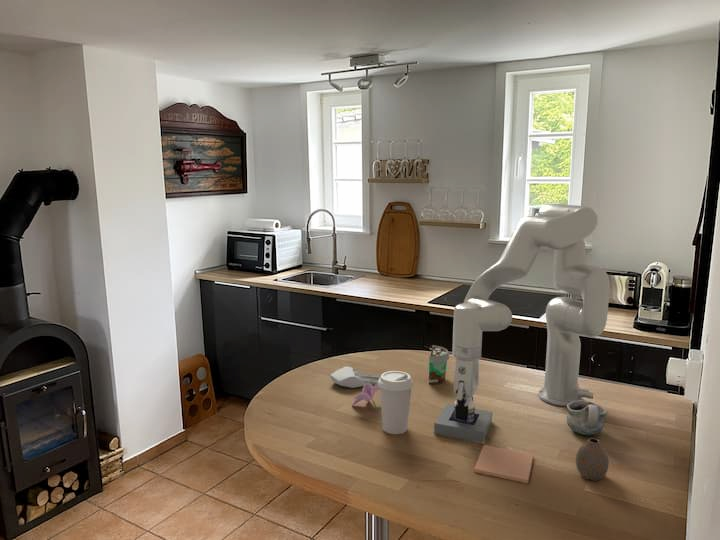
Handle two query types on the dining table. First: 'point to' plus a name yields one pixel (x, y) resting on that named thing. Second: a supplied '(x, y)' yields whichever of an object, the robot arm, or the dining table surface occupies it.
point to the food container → (437, 364)
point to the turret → (353, 377)
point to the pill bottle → (470, 411)
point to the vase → (592, 460)
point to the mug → (585, 417)
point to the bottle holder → (463, 425)
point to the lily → (367, 393)
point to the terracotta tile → (504, 463)
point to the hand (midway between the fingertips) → (464, 413)
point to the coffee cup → (395, 400)
